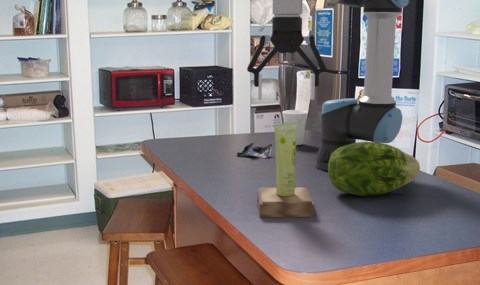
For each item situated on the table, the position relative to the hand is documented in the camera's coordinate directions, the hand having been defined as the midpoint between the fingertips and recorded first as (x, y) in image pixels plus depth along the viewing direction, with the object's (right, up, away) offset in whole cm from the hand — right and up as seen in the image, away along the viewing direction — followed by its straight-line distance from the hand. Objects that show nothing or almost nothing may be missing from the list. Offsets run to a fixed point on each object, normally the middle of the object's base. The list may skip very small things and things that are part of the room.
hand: (286, 99), depth 163 cm
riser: (0, -29, +6) cm, 30 cm away
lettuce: (+27, -26, +19) cm, 42 cm away
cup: (+10, -12, +86) cm, 87 cm away
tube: (0, -25, +5) cm, 26 cm away
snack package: (-7, -17, +67) cm, 69 cm away
